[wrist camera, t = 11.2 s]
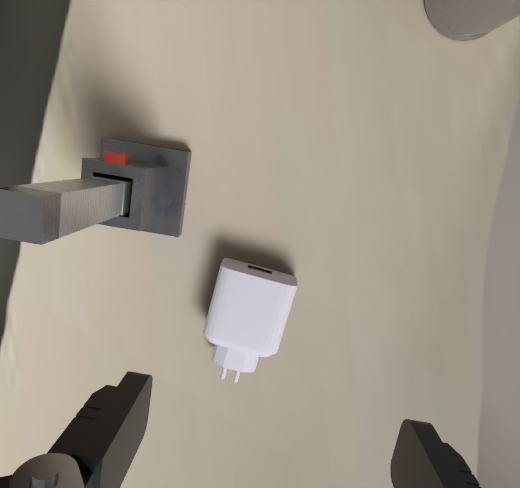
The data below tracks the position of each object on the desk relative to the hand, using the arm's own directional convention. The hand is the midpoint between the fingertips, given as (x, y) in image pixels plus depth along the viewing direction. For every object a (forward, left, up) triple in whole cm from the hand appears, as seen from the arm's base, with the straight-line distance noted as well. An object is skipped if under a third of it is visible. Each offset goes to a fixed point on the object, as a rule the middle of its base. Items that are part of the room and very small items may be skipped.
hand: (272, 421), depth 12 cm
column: (-2, -16, -29) cm, 33 cm away
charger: (+13, -2, -37) cm, 39 cm away
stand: (-2, -16, -36) cm, 40 cm away
